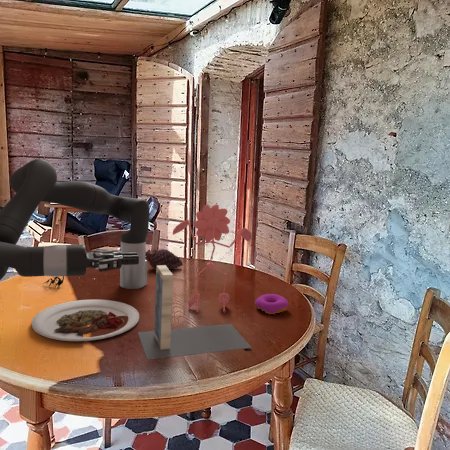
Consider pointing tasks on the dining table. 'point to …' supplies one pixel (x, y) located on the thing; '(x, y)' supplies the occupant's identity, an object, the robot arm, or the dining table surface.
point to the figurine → (212, 229)
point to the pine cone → (163, 259)
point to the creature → (60, 282)
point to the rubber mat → (194, 341)
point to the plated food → (83, 319)
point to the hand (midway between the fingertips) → (137, 258)
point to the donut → (272, 303)
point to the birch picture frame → (163, 306)
